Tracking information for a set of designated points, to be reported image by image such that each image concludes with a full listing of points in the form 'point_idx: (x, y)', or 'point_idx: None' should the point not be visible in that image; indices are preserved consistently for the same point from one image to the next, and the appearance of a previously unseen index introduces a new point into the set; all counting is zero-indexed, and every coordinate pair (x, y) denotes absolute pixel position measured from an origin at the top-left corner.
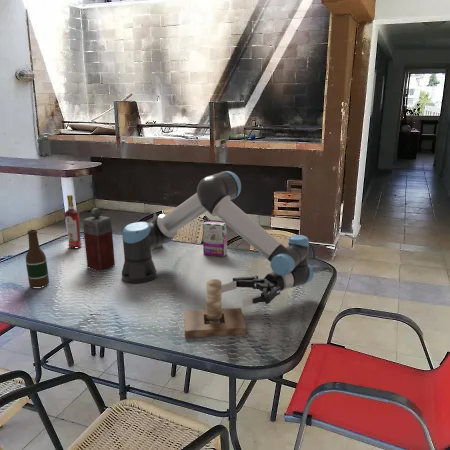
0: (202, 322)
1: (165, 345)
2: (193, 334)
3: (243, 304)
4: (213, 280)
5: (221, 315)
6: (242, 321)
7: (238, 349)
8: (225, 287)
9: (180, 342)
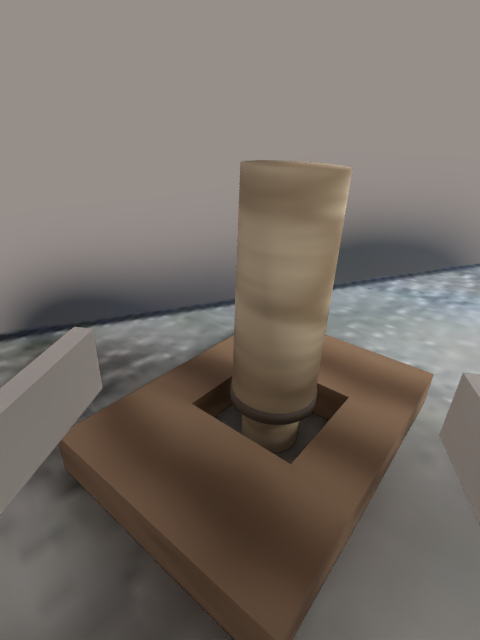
0: None
1: None
2: None
3: (97, 374)
4: (325, 167)
5: (239, 394)
6: (114, 468)
7: None
8: (472, 433)
9: None
